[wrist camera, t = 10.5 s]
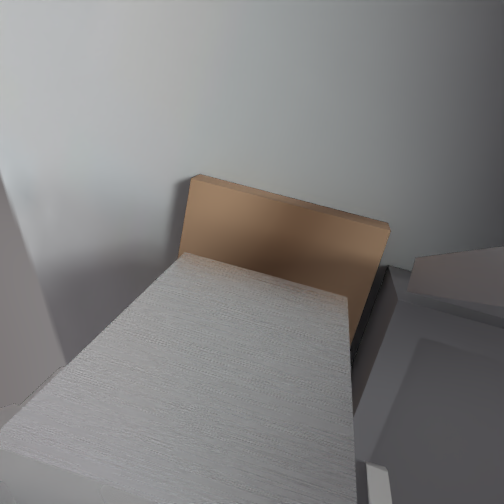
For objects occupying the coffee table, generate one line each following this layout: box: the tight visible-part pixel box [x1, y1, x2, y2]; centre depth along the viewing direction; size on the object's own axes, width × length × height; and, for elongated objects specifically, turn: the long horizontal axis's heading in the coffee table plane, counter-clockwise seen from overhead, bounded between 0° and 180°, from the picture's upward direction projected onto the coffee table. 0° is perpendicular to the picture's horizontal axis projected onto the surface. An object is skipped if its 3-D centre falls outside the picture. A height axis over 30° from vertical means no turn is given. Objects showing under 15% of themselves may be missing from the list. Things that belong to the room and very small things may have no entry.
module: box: [0, 252, 357, 504], centre depth 10 cm, size 5×6×8 cm
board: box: [178, 174, 391, 346], centre depth 17 cm, size 7×9×1 cm
